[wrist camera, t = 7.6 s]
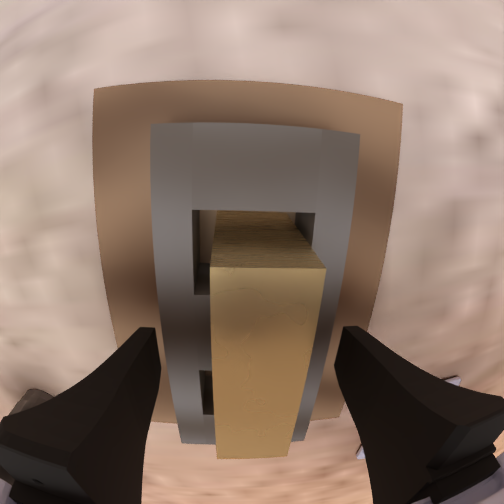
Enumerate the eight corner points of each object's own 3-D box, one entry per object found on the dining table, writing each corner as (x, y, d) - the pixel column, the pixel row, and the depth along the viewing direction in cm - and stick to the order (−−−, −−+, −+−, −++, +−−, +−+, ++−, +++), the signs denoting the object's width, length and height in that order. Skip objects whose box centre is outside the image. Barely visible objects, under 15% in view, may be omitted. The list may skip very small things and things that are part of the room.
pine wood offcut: (270, 369, 17) (286, 456, 11) (217, 370, 16) (217, 458, 11) (285, 212, 14) (326, 268, 8) (217, 210, 13) (210, 267, 8)
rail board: (335, 407, 20) (350, 448, 16) (141, 409, 19) (131, 453, 15) (392, 104, 13) (440, 100, 9) (102, 91, 12) (62, 79, 8)
